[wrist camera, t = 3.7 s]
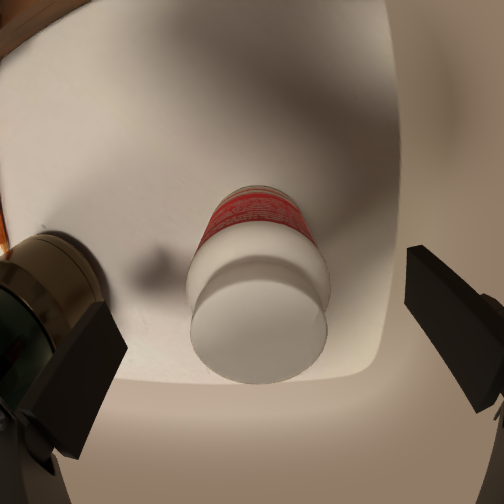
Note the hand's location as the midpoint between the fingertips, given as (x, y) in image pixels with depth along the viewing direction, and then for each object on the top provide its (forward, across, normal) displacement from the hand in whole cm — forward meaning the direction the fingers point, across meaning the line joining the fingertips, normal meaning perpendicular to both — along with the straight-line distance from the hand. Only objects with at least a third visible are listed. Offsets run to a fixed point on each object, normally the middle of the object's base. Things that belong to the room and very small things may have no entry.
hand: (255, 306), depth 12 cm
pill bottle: (+9, 0, 0) cm, 9 cm away
